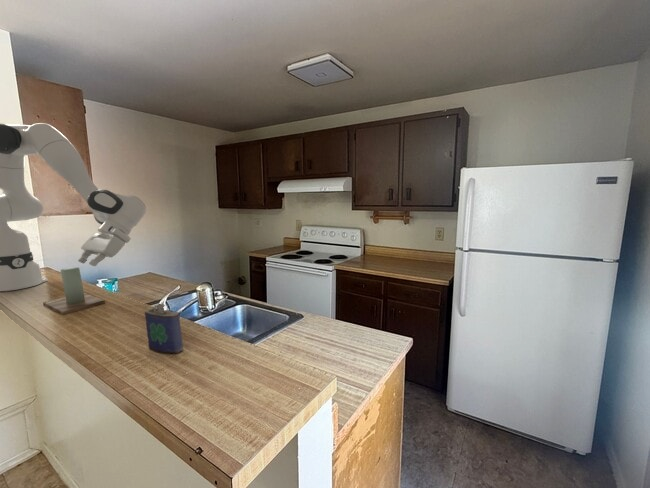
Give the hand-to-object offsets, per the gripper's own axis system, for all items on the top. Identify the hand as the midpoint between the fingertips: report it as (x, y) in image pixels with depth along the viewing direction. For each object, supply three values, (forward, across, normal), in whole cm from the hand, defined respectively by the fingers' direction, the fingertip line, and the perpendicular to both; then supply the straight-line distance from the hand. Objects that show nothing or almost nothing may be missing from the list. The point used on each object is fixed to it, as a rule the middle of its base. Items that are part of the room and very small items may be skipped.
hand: (86, 263), depth 109 cm
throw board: (+13, -2, +6) cm, 15 cm away
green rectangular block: (+12, 0, +6) cm, 14 cm away
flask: (+14, +59, +5) cm, 61 cm away
